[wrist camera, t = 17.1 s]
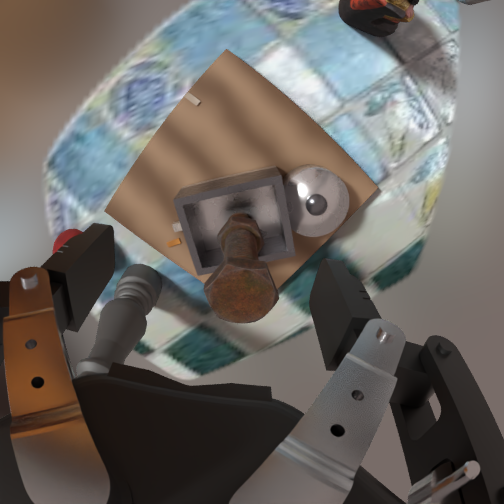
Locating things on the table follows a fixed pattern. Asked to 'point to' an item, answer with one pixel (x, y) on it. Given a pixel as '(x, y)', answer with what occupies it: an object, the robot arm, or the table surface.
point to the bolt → (241, 274)
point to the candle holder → (123, 319)
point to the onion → (65, 238)
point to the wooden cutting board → (228, 158)
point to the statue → (376, 14)
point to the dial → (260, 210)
